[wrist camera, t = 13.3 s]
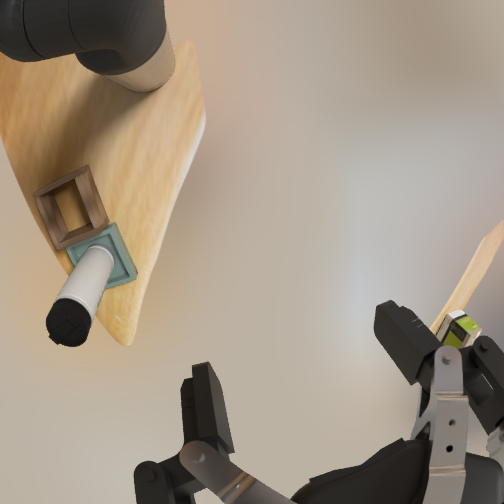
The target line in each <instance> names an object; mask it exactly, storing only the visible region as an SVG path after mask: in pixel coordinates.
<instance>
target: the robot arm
mask: <svg viewBox="0 0 504 504" xmlns="http://www.w3.org/2000/svg"><path fill="white" fill-rule="evenodd" d="M0 52H2V53H3V54H5V55H6V56H8V57H9V58H11V59H14V60H17V61H20V62H36V61H41V60H46V59H51V58H55V57H60V56H64V55H69V54H74V53H75V55H76V57H77V59H78V60H79V62H80V63H81V64H82V65H83V66H84V67H86V68H87V69H89V70H91V71H93V72H95V73H98V74H100V75H102V76H104V77H106V78H108V79H111V80H113V81H115V82H117V83H118V84H120V85H122V86H124V87H126V88H128V89H130V90H133V91H136V92H148V91H152V90H155V89H157V88H159V87H160V86H162V85H163V84H164V83H165V82H166V81H168V79H169V78H170V77H171V75H172V73H173V71H174V67H175V57H174V52H173V48H172V44H171V40H170V35H169V31H168V28H167V24H166V20H165V11H164V0H0ZM374 333H375V336H376V338H377V339H378V341H379V342H380V343H381V345H382V346H383V347H384V349H385V350H386V351H387V353H388V354H389V355H390V357H391V358H392V359H393V361H394V362H395V364H396V365H397V367H398V368H399V369H400V371H401V372H402V374H403V375H404V376H405V378H406V379H407V381H408V382H409V383H410V385H413V384H415V383H416V382H419V383H420V389H419V399H418V408H417V416H416V422H415V425H414V427H413V430H412V433H411V438H410V440H407V441H404V440H403V438H401V439H399V440H397V441H395V442H393V443H391V444H389V445H388V446H386V447H384V448H382V449H380V450H379V451H378V452H377V453H376V454H375V455H373V456H372V457H371V458H369V459H368V460H367V461H366V462H364V463H363V464H361V465H359V466H354V467H349V468H344V469H338V470H333V471H330V472H327V473H325V474H322V475H319V476H316V477H314V478H311V479H309V480H310V482H309V483H308V484H306V485H305V486H303V487H302V488H300V489H299V490H298V491H297V492H296V493H295V494H294V495H293V496H292V498H291V499H288V498H286V497H285V496H283V495H281V494H279V493H278V492H276V491H274V490H273V489H271V488H270V487H268V486H266V485H265V484H263V483H262V482H260V481H259V480H257V479H256V478H254V477H253V476H251V475H249V474H247V473H246V472H244V471H243V470H242V469H240V468H239V467H237V466H236V465H235V464H233V463H232V462H231V461H230V459H229V455H228V454H230V453H234V452H235V451H234V447H233V442H232V437H231V433H230V428H229V423H228V418H227V413H226V408H225V402H224V397H223V392H222V388H221V384H220V382H219V379H218V378H217V376H216V374H215V372H214V370H213V368H212V367H211V364H210V363H209V362H204V363H200V364H196V365H192V375H193V377H192V378H187V379H184V381H183V384H182V387H181V389H180V390H181V401H182V402H181V406H182V420H183V432H184V444H183V447H182V449H181V450H180V452H179V453H178V454H177V455H175V456H173V457H171V458H169V459H167V460H164V461H162V462H160V463H155V462H153V461H145V462H142V463H140V464H139V465H138V466H137V467H136V468H135V471H134V484H135V494H136V502H137V504H196V503H195V499H194V493H196V492H198V491H201V490H203V489H205V488H208V489H210V490H211V491H212V492H213V493H214V494H216V495H217V496H218V497H219V498H220V499H221V500H222V501H223V502H224V503H225V504H504V353H503V352H502V350H501V349H500V348H499V347H498V346H497V344H496V343H495V342H494V341H493V340H492V339H491V338H489V337H488V336H479V337H477V338H476V339H475V340H474V342H473V344H472V345H471V346H467V347H464V348H460V349H456V348H455V347H453V346H449V345H445V346H444V345H443V344H442V343H441V342H440V341H439V340H438V338H437V337H436V336H435V335H434V334H433V333H432V332H431V331H430V330H429V329H428V327H427V326H426V325H424V324H423V322H422V321H421V320H420V319H418V317H417V316H416V315H415V313H414V312H413V311H412V310H410V309H407V308H406V307H404V306H402V307H399V306H398V305H397V304H396V303H395V302H394V301H392V300H389V301H387V302H384V303H382V304H380V305H378V306H377V307H376V313H375V321H374ZM482 374H483V375H484V376H485V378H486V379H487V380H488V382H489V383H490V385H491V386H492V388H493V389H492V388H491V387H490V385H489V384H488V382H487V381H486V380H485V378H484V377H483V375H482ZM468 404H469V405H470V407H471V408H472V410H473V411H474V413H475V414H476V416H477V418H478V419H479V421H480V423H481V424H482V426H483V428H484V429H485V431H486V433H487V434H488V436H489V437H488V441H487V446H486V450H487V451H488V452H489V453H490V454H489V457H484V456H480V455H476V454H472V453H468V452H466V445H467V433H468V407H469V405H468Z"/></svg>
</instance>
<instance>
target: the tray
mask: <svg viewBox="0 0 504 504" xmlns="http://www.w3.org/2000/svg"><path fill="white" fill-rule="evenodd" d="M96 243H98V244H103V245H105V246H107V247H109V248H110V249H111V251H112V252H113V254H114V256H115V266H114V268H113V271H112V273H111V275H110V278H109V280H108V283H107V285H106V288H105V289H107V288H110V287H113V286H117V285H120V284H123V283H126V282H129V281H133V280H136V278H137V274H138V272H137V269H136V267H135V265H134V263H133V261H132V259H131V257H130V254H129V252H128V250H127V248H126V246H125V243H124V241H123V239H122V236H121V234H120V232H119V229H118V227H117V225H116V222H115V223H112V224H109V225H107V226H106V227H105V229H104V230H103V232H102V233H99V234H97V235H94V236H92V237H89V238H87V239H84V240H82V241H79V242H77V243H74V244H72V245H69V246H67V247H65V249H66V251H67V253H68V255H69V257H70V259H71V261H72V262H73V264H74V266H76V265H77V263H78V262H79V260H80V259H81V257H82V255H83V254H84V253H85V251H86V249H87V248H88V247H89V246H90V245H92V244H96Z"/></svg>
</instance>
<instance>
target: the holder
mask: <svg viewBox="0 0 504 504" xmlns="http://www.w3.org/2000/svg"><path fill="white" fill-rule="evenodd" d="M74 178H75V181H76V184H77V187H78V189H79V192H80V195H81V197H82V200H83V202H84V205H85V207H86V210H87V212H88V215H89V217H90V220H91V222H92V223H90V224H87V225H85V226H82V227H80V228H78V229H75V230H73V231H71V232H69V231H68V228H67V226H66V224H65V222H64V219H63V217H62V214H61V212H60V210H59V207H58V205H57V202H56V200H55V197H54V194H53V192H52V189H54V188H56V187H58V186H60V185H62V184H64V183H66V182H68V181H70V180H72V179H74ZM33 196H34V198H35V201H36V203H37V206H38V208H39V211H40V213H41V216H42V218H43V221H44V223H45V225H46V227H47V230H48V232H49V234H50V236H51V238H52V241H53V243H54V245H55V247H56V249H57V250H60V249H62V248H64V247H67V246H69V245H72V244H74V243H77V242H79V241H82V240H84V239H87V238H89V237H92V236H94V235H97V234H99V233H102V232H103V230H104V229H105V227H106V226H107V225H108V223H109V222H110V221H109V219H108V216H107V214H106V211H105V209H104V206H103V204H102V201H101V198H100V196H99V193H98V190H97V188H96V185H95V182H94V179H93V176H92V173H91V170H90V167H89V165H86V166H84V167H82V168H80V169H78V170H76V171H74V172H72V173H70V174H68V175H66V176H64V177H62V178H60V179H58V180H56V181H54V182H52V183H50V184H49V185H47V186H45V187H43V188H41V189H40V190H38V191H36V192H35V193H33Z"/></svg>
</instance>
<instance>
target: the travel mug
mask: <svg viewBox="0 0 504 504" xmlns="http://www.w3.org/2000/svg"><path fill="white" fill-rule="evenodd" d="M114 266H115V256H114V254H113V252H112V251H111V249H110V248H109V247H107V246H105V245H103V244H98V243H96V244H92V245H90V246H89V247H88V248H87V249H86V251H85V253H84V254H83V255H82V257H81V259H80V260H79V262H78V263H77V265H76V266H75V268H74V269H73V271H72V273H71V274H70V276H69V278H68V279H67V281H66V283H65V284H64V286H63V288H62V289H61V291H60V293H59V294H58V297H57V298H56V300H55V302H54V304H53V306H52V308H51V310H50V312H49V314H48V316H47V318H46V327H47V330H48V332H49V334H50V335H49V338H50V339H52V341H54V342H55V343H56V344H57V345H58V344H62V345H64V346H68V347H77V346H80V345H82V344H83V343H84V342H85V341H86V339H87V336H88V333H89V330H90V328H91V325H92V323H93V320H94V317H95V314H96V311H97V309H98V306H99V303H100V301H101V298H102V295H103V293H104V290H105V288H106V285H107V283H108V280H109V278H110V275H111V273H112V271H113V268H114Z"/></svg>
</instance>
